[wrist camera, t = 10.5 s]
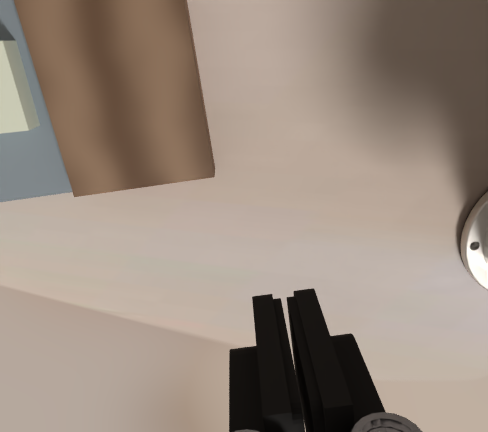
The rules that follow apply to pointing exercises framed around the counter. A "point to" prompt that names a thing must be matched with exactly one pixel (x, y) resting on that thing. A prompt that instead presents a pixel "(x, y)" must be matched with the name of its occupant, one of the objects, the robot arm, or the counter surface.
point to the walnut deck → (120, 90)
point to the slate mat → (29, 133)
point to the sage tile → (15, 92)
